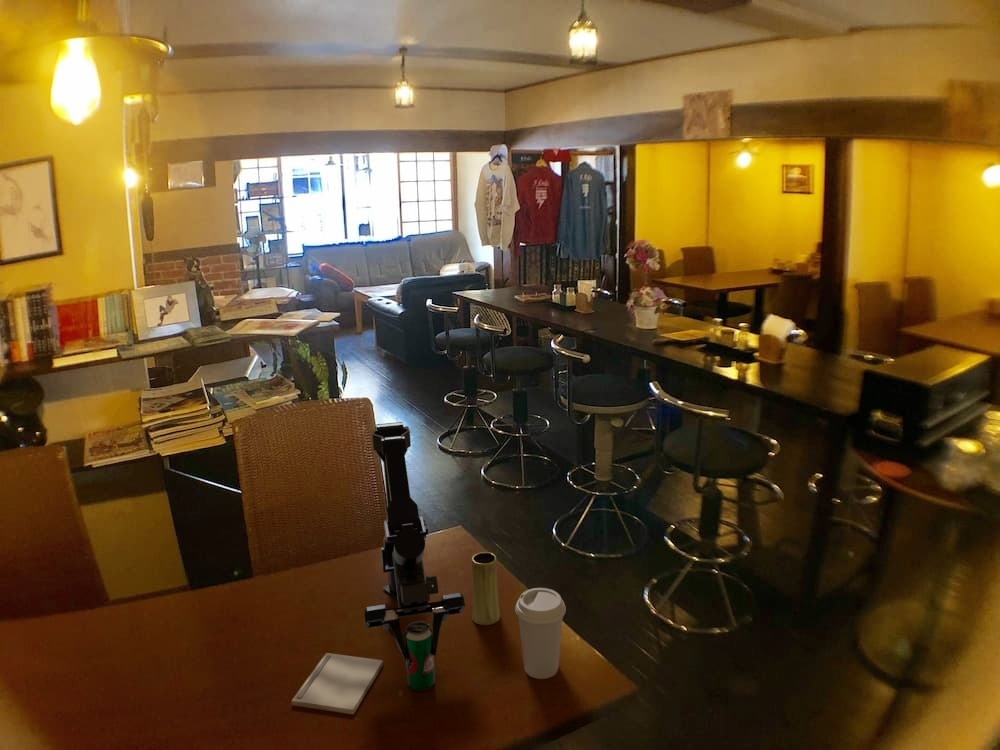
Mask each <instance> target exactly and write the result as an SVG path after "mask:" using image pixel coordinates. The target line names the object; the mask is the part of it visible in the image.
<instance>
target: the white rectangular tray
mask: <svg viewBox="0 0 1000 750" xmlns="http://www.w3.org/2000/svg"><path fill="white" fill-rule="evenodd" d="M383 666H384V661H383V660H381V659H376V658H368V657H360V656H351V655H347V654H346V655H344V654H338V653H330V652H326V653H325V654H324V656H323V657H322V658H321V660H320V661H319V662H318V664H317V665H316V666H315V668H314V669H313V671H312V672H311V673H310V675H309V676H308V677H307V678H306V680H305V681H304V683H303V684H302V685H301V687H300V688H299V690H298V691H297V692H296V694H295V695H294V697H293V698H292V700H291V705H292V706H294V707H295V706H296V707H300V708H301V707H303V708H310V709H315V710H321V711H327V712H334V713H342V714H348V715H355V713H356V711H357V709H358V708H359V706H360V704H361V703H362V701H363V699H364V697H365V696H366V694H367V692H368V691H369V690H370V688H371V686H372V684H373V683H374V681H375V679H376V677H377V676H378V674H379V672H381V669H382V668H383Z"/></svg>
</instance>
